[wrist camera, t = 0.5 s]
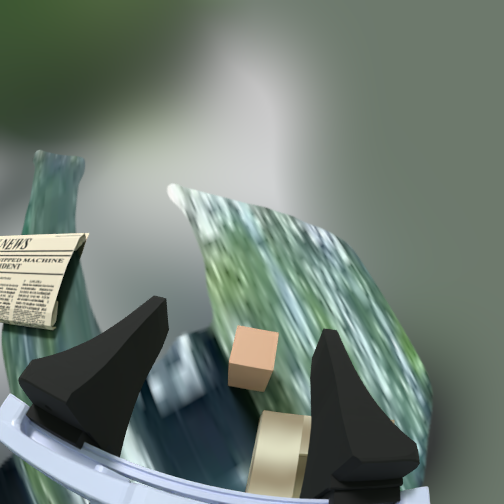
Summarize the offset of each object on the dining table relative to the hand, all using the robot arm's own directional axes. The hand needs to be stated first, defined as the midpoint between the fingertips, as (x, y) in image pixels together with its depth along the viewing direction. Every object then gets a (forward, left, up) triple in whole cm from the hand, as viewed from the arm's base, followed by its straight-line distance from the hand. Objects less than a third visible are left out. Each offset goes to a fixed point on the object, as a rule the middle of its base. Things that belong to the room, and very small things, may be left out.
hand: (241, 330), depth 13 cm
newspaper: (+8, +45, -21) cm, 50 cm away
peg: (+6, -1, -20) cm, 21 cm away
